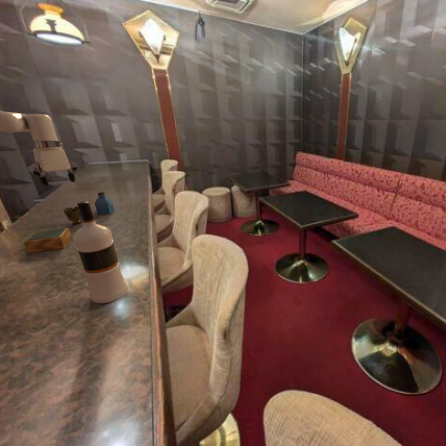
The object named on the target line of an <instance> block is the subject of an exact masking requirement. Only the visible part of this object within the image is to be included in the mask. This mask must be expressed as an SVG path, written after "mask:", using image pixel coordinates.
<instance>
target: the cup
mask: <svg viewBox="0 0 446 446" xmlns="http://www.w3.org/2000/svg"><path fill="white" fill-rule="evenodd" d="M63 213H64V215H65V216H66V218H67V220H68V221H70V222H71V223H72V224H74V225H76V224H77V225H78V224H81V223H83V222H82V219H81V216H80V212H79V209H78V206H74V207H73V208H72V207H65V208H63Z"/></svg>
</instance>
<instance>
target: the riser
mask: <svg viewBox="0 0 446 446" xmlns="http://www.w3.org/2000/svg"><path fill="white" fill-rule="evenodd" d="M72 239H73V237H72V235H71V231H70V228H69V227H65V228H57V229H56V228H55V229H47V230H39V231H34V232H33V233H32V234H31V235H29V237H27V238H26V239H25V240H24V241H23V244H24V247H25V249H26V252H27V254H33V253H39V252H46V251H53V250H60V249H61V250H62V249H65V248H66V246H67V245H68V244H69V243H70V241H71V240H72Z"/></svg>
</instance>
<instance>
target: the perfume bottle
mask: <svg viewBox="0 0 446 446" xmlns="http://www.w3.org/2000/svg"><path fill="white" fill-rule="evenodd" d="M97 197H98V198H96V199H95V202H94V207H95V209H96V213H97V215H107V214H108V215H109V214H111V213H113V212H114V211H115V208H114V204H113V200H112V199H111V198H110V197H109V196H106V193H105V191H97Z"/></svg>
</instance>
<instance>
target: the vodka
mask: <svg viewBox="0 0 446 446" xmlns="http://www.w3.org/2000/svg"><path fill="white" fill-rule="evenodd" d="M76 205H77V206H76V207H78V209H79V212H80V216H81V220H82V222H81V223H82V225H83V226H81V227H80V228H79V229H78V230H76V231H75V232H74V233H73V237H72V241H73V243H74V245H75V249H76V250H77V253H78V255H79V258H80V261H81V264H82V267H83V269H84V270H83V274H84V275H85V277H86V280H87V284H88V289H89V299H90V300H91V301H92V302H93V303H94V304H108V303H111V302H115V301H117V300H118V299H121V298H122V297H123V296H124V295H126V293H127V292H128V290H129V289H128V288H129V287H128V283H127V281H125V278H124V275H123V272H122V270H121V263H120V262H119V259H118V256H117V255H118V254H117V252H116V248H115V244H114V239H113V234H112V231H111V229H110V228H109V227H107V226H105V225H102V224H97V223H96V220H95V217H94V213H93V210H92V208H91V204H90V202H89V201H80V202H77V203H76Z"/></svg>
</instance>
